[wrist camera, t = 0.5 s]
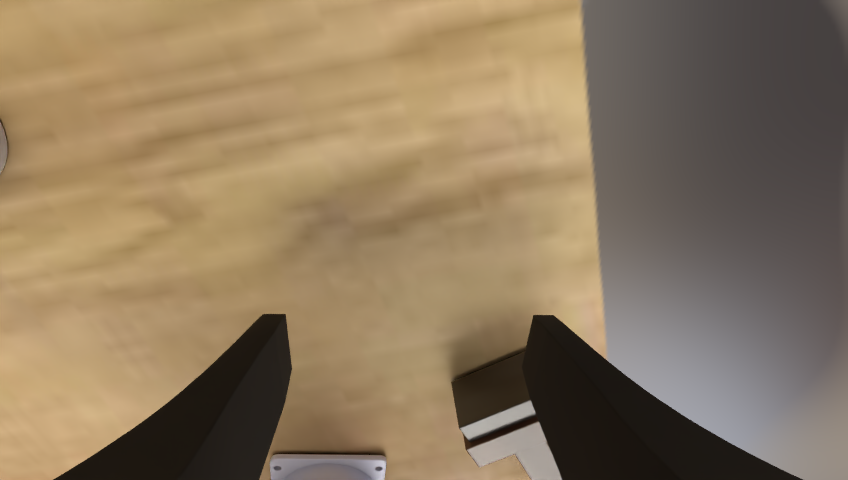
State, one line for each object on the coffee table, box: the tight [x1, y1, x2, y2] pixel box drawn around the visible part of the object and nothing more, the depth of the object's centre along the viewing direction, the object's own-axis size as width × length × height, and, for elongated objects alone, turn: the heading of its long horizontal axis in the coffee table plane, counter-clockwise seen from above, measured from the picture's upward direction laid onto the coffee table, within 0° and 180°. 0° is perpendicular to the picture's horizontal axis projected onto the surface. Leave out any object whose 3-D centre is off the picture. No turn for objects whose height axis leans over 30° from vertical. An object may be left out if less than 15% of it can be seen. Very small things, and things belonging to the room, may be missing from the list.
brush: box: [451, 351, 562, 480], centre depth 26 cm, size 6×12×4 cm, turn 27°
